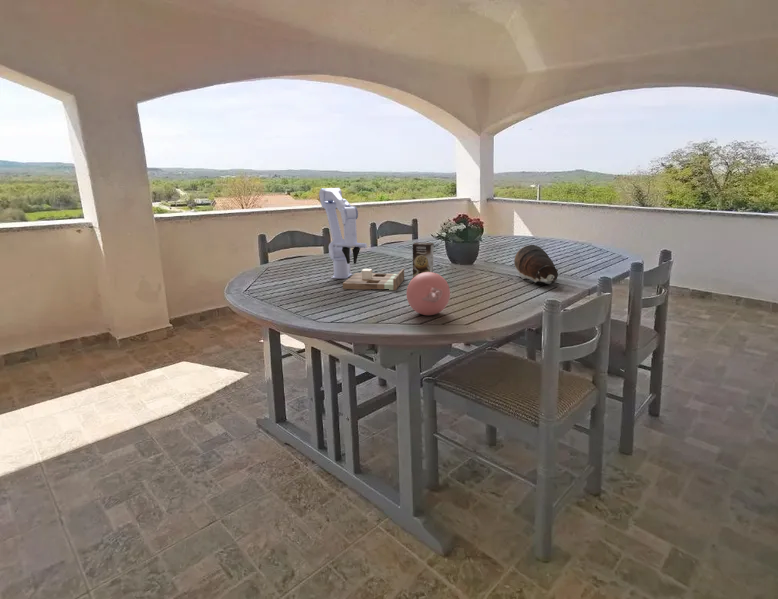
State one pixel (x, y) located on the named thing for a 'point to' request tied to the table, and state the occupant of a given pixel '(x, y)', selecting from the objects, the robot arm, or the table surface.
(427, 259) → the cookie box
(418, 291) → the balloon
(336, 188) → the robot arm
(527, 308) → the table surface
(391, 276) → the deck
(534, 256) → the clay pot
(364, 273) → the block
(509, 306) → the table surface
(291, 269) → the table surface
